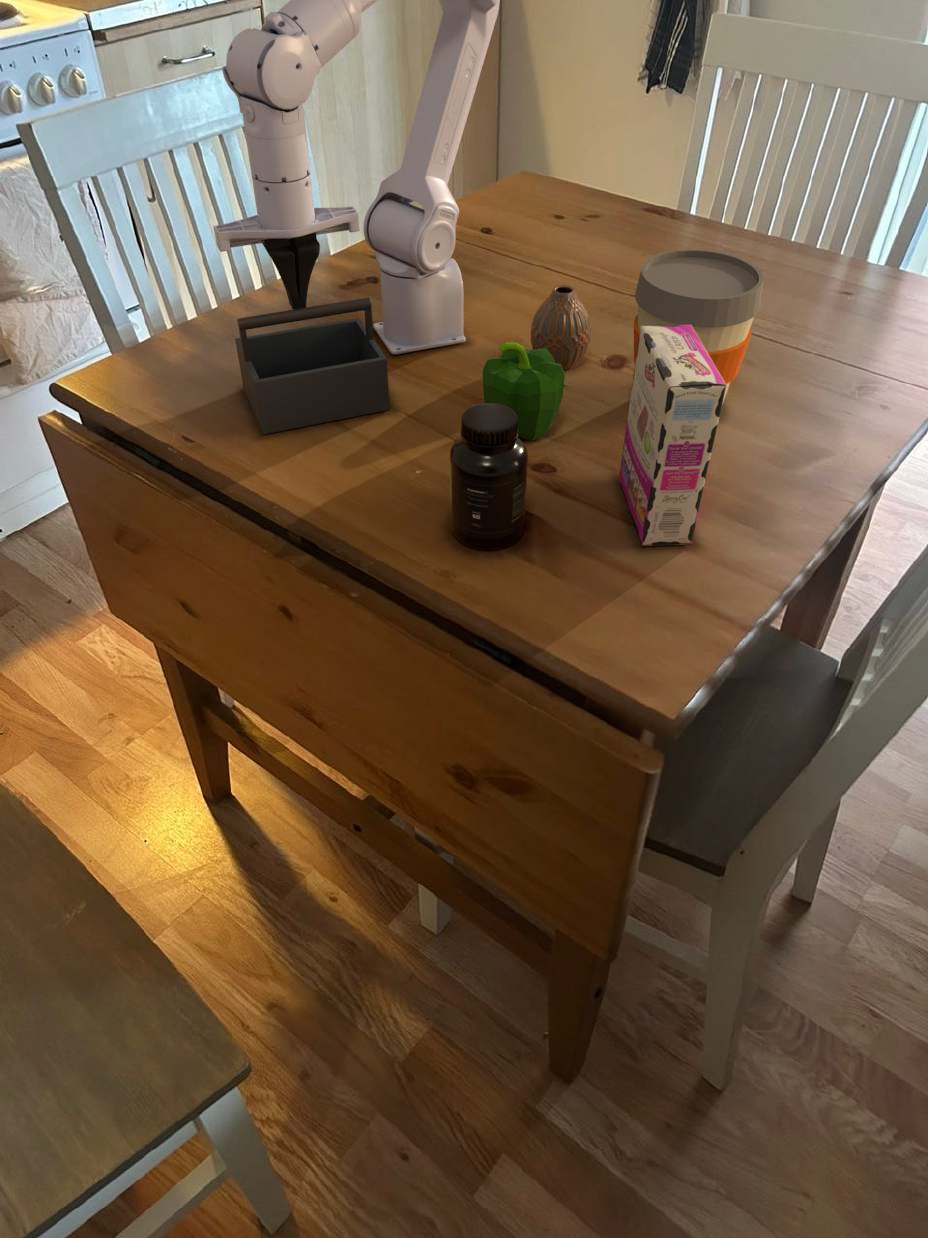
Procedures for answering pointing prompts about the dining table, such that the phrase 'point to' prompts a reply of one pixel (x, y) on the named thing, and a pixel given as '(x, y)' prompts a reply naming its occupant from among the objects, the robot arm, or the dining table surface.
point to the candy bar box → (669, 433)
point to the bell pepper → (525, 387)
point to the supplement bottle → (488, 478)
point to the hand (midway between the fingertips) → (297, 305)
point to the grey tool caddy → (312, 367)
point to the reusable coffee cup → (702, 301)
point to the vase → (562, 327)
